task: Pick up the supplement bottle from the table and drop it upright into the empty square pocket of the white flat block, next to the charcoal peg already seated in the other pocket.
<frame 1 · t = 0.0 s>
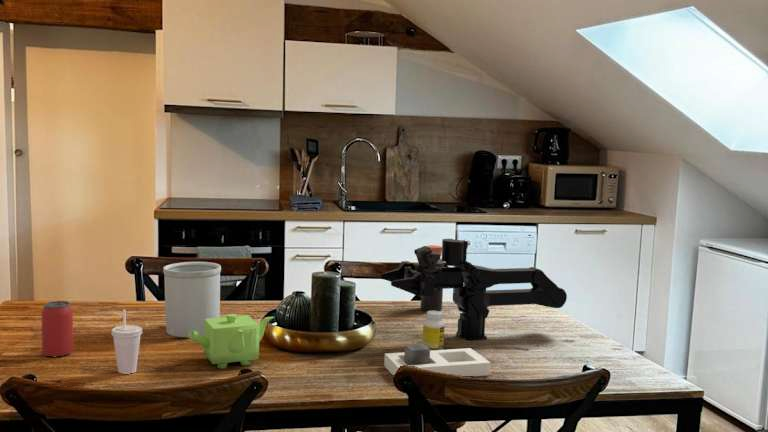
hand: (385, 279, 180), 17 cm above the table, tool horizontal, fingers open, 9 cm apart
seated peg: (416, 372, 160), resting in white flat block
kettle: (232, 363, 162), on the table
vinegar: (431, 309, 218), on the table
beer can: (57, 354, 163), on the table
white flat block: (436, 370, 161), on the table
supplement bottle: (432, 350, 177), on the table
utensil holder: (192, 331, 186), on the table
smoothie: (127, 372, 153), on the table
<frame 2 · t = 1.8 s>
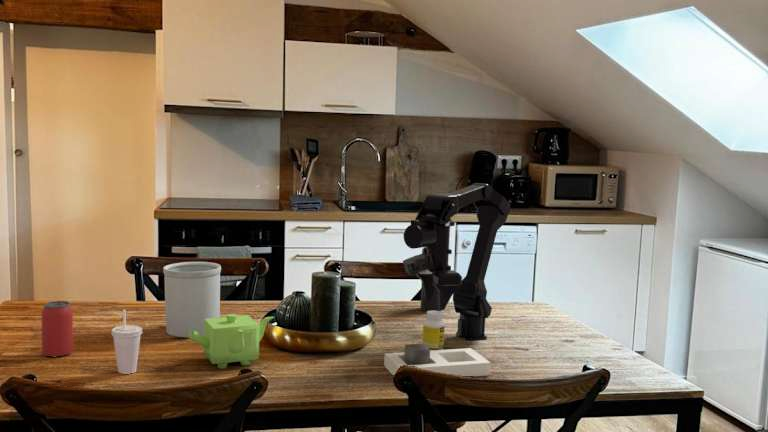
hand: (434, 305, 176), 11 cm above the table, tool pointing down, fingers open, 9 cm apart
nothing on the table moved.
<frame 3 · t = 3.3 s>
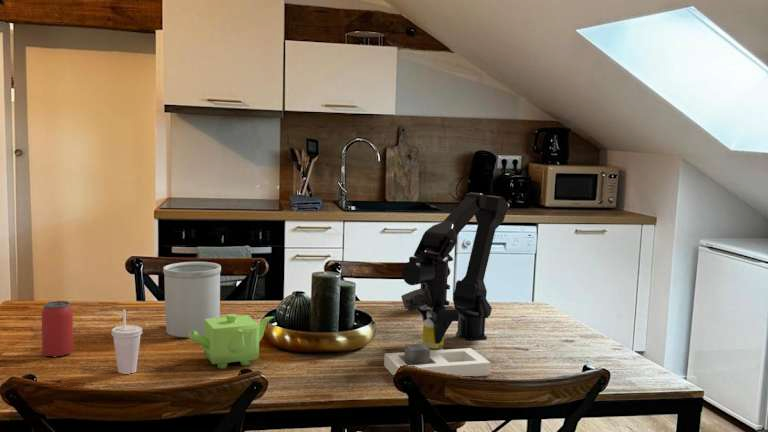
hand: (433, 340, 177), 3 cm above the table, tool pointing down, fingers closed on supplement bottle, 5 cm apart
supplement bottle: (432, 350, 177), on the table, touching gripper
everything else where it was.
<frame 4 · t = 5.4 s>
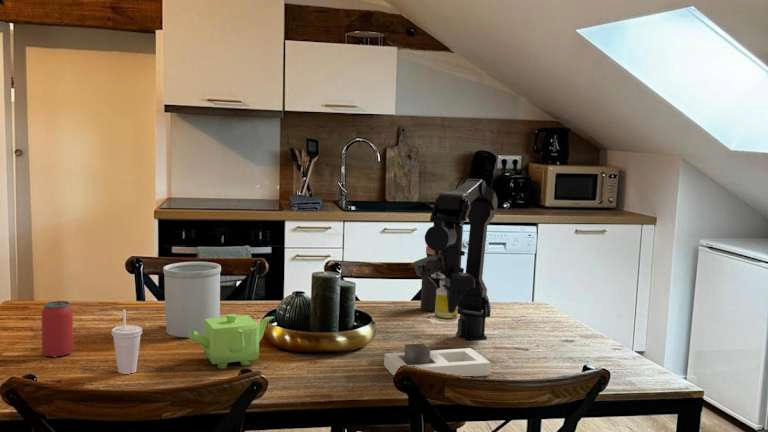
hand: (446, 309, 167), 13 cm above the table, tool pointing down, fingers closed on supplement bottle, 5 cm apart
supplement bottle: (445, 320, 168), point 10 cm above the table, touching gripper
everything else where it was.
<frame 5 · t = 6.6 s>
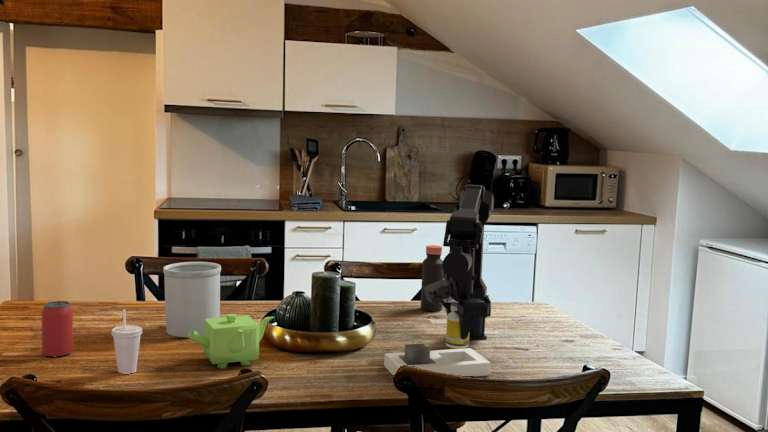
hand: (458, 335, 162), 8 cm above the table, tool pointing down, fingers closed on supplement bottle, 5 cm apart
supplement bottle: (457, 346, 162), point 5 cm above the table, touching gripper
everything else where it was.
when the fingers open (4 cm above the table, at t = 7.6 s): supplement bottle drops 2 cm, resting in white flat block.
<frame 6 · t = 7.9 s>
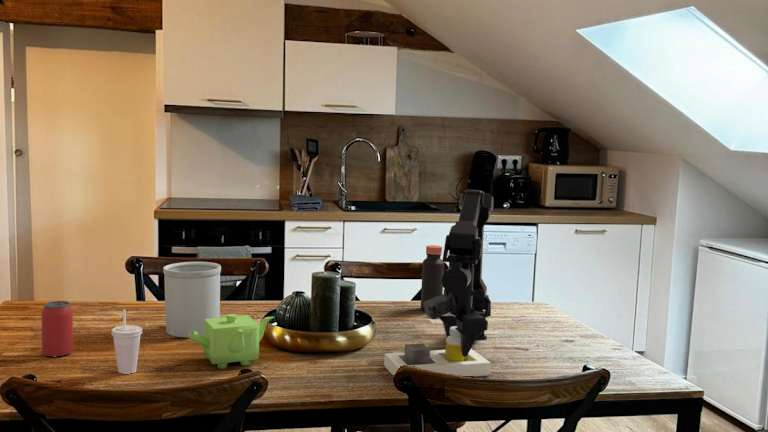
hand: (457, 350, 162), 4 cm above the table, tool pointing down, fingers open, 8 cm apart
supplement bottle: (455, 369, 163), resting in white flat block
everything else where it was.
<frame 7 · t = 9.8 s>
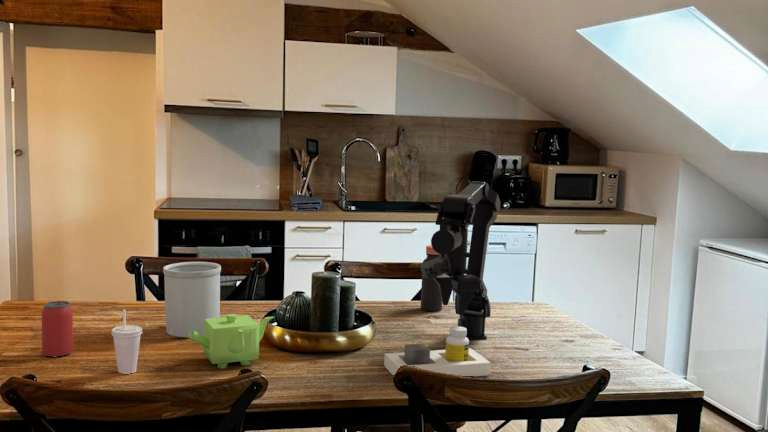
hand: (452, 309, 171), 12 cm above the table, tool pointing down, fingers open, 9 cm apart
nothing on the table moved.
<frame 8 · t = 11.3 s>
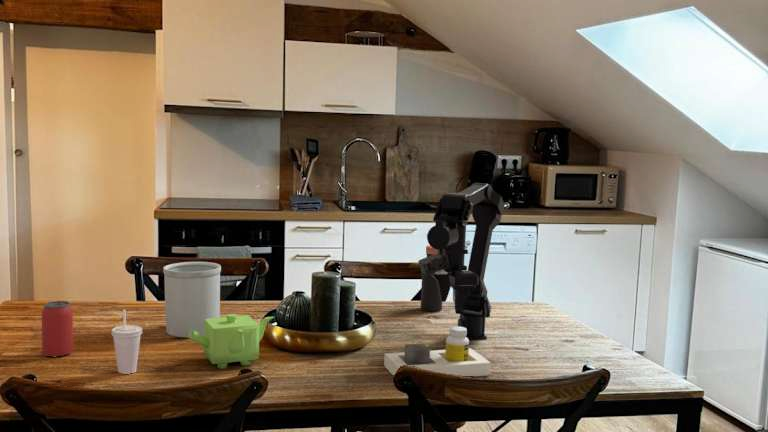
hand: (450, 306, 174), 12 cm above the table, tool pointing down, fingers open, 9 cm apart
nothing on the table moved.
at the end: supplement bottle 0.1 cm from the target spot on the white flat block, point 0.0 cm above the white flat block's base; supplement bottle tilted 0°; the gripper is holding nothing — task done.
